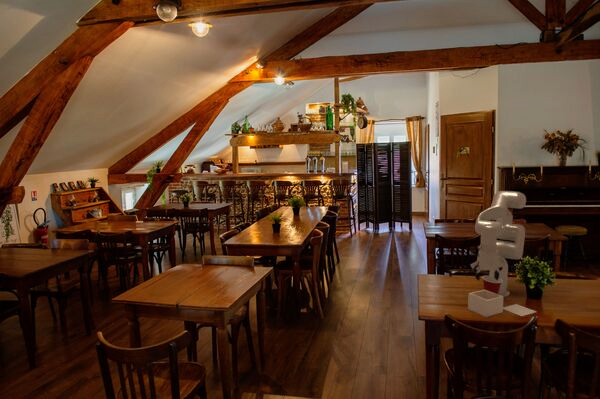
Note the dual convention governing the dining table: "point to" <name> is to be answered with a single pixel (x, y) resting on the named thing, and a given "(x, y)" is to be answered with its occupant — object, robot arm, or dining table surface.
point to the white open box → (485, 303)
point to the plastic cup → (491, 284)
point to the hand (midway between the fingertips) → (486, 279)
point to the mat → (519, 310)
